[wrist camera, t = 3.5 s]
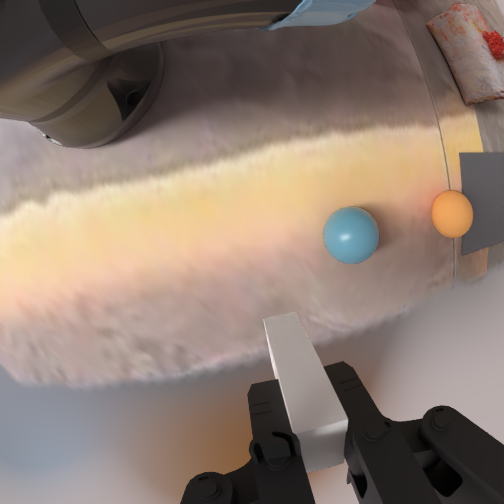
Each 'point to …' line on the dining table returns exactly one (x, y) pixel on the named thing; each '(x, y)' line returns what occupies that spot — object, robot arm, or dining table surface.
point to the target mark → (483, 199)
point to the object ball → (452, 214)
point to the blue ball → (351, 235)
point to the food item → (471, 52)
